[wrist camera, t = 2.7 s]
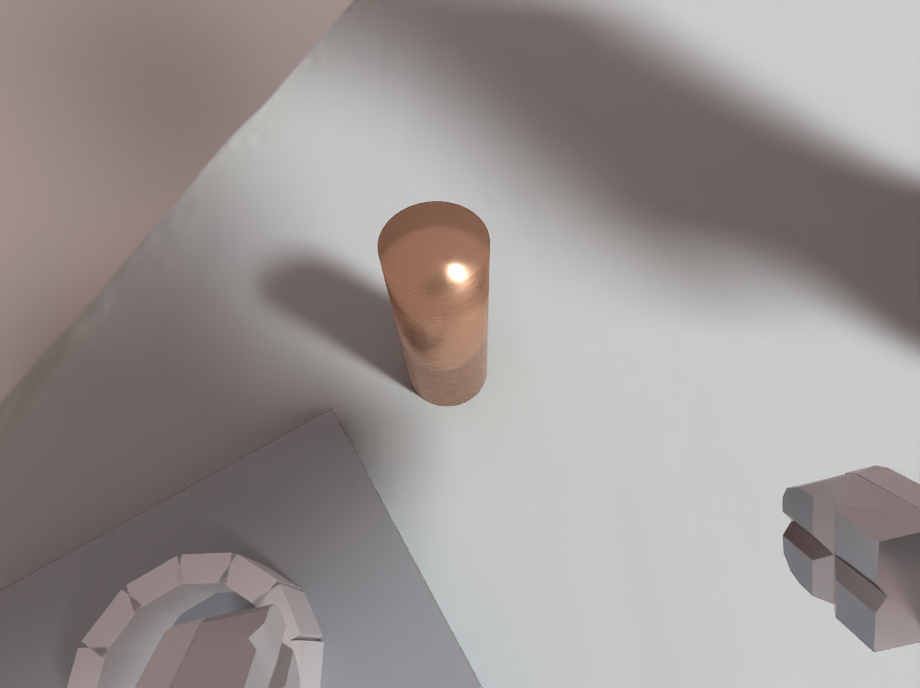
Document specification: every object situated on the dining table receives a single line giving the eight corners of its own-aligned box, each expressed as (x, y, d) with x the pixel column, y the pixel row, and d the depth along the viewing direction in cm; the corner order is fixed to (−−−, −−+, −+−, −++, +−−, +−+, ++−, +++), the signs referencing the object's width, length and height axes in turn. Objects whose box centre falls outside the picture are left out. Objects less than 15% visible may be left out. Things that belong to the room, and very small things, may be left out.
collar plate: (338, 421, 27) (314, 380, 23) (510, 740, 20) (518, 761, 16) (-3, 611, 23) (-103, 602, 19) (70, 1083, 16) (-60, 1220, 12)
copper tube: (460, 325, 29) (452, 186, 20) (501, 381, 27) (511, 255, 19) (395, 360, 28) (358, 230, 20) (433, 420, 26) (411, 307, 18)
